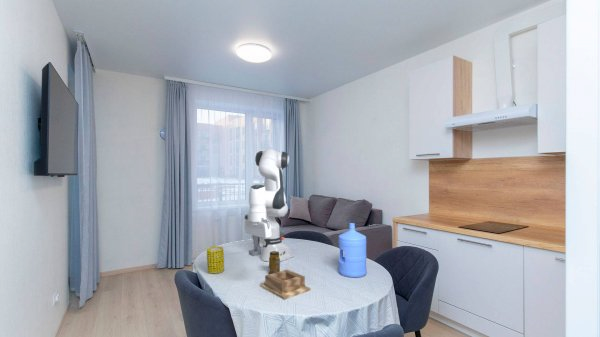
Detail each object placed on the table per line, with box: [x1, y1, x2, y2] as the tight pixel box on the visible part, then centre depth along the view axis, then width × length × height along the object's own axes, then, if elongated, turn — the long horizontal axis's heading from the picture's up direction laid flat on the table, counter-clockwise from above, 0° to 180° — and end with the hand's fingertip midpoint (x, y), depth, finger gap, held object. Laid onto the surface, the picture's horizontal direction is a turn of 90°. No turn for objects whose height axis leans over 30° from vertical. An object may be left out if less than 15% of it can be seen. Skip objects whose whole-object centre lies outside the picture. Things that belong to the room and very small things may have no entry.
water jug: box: [338, 222, 368, 278], centre depth 165 cm, size 16×16×28 cm
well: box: [259, 268, 311, 301], centre depth 144 cm, size 16×20×6 cm
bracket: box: [248, 236, 263, 257], centre depth 145 cm, size 5×4×10 cm
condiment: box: [266, 251, 281, 275], centre depth 164 cm, size 7×8×12 cm
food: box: [206, 245, 225, 275], centre depth 168 cm, size 15×12×10 cm
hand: (257, 244), depth 146 cm, fingers closed on bracket, 4 cm apart
